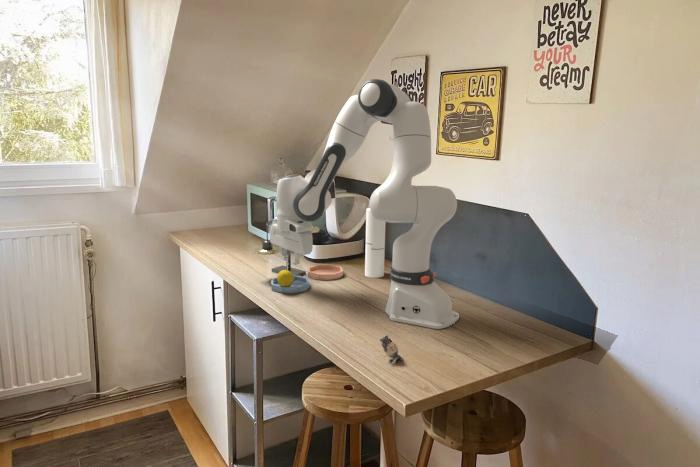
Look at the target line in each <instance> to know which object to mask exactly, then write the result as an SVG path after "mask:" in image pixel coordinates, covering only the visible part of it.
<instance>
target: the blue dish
mask: <svg viewBox="0 0 700 467" xmlns="http://www.w3.org/2000/svg"><path fill="white" fill-rule="evenodd" d="M293 277H294V281H293V284H292V285H291V286H289V287H283V286H281V285H279V283H278V281H277V277H274V278H272V279H270V289H271V290H272V291H274V293H275V292H276V293H280V294H287V295H288V294H300V293H303V292H307V290H309V288H310V280H309V278H308V277H303V276H293Z"/></svg>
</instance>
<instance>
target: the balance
mask: <svg viewBox="0 0 700 467" xmlns="http://www.w3.org/2000/svg"><path fill="white" fill-rule="evenodd" d="M274 219H277V217H275V218H273V219H271V220H268V221H266V222H265V225H266V239H263V240H262V244H261V245H262V246H257V247H255V248H254V253H256V254H257V255H276V254H279V253H280V250H279V247H278V246H275V245H272V244H271V242H270V239H269V228H268V227H269V225H272V221H273V220H274ZM312 226H313V225H312ZM310 232H311V233H312V234H313V233H319V232H320V227H318V226H313V230H312V231H310ZM291 252H292V251H290V250H287V249H286V253H287V255H288V260H286V264H285V265H280V266H275V267H273V268H271V273H275V274H278V273H279V272H280V271H282V270H288V271H290V272H291V273H292V274H293V276H301V277H303V276H304V275H307V271H306V270H302V269H299V268H294V267H292V264H291V263H292V262H291V261H292V259H291V258H292V257H291V256H292V253H291Z"/></svg>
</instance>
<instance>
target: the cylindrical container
mask: <svg viewBox="0 0 700 467" xmlns="http://www.w3.org/2000/svg"><path fill="white" fill-rule="evenodd" d="M365 210H366V212H365V215H366V216H365V252H364V253H365V255H364V256H365V258H364V276H365V277H367V278H372V279H373V278H375V279H378V278H379V279H380V278H383V277H384V274H385V255H386V254H385V253H386V252H385V250H386V243H385V242H386V223H387V222H384V221H379V220H376V219H375V218H374V217H373V215H372V213H371V211H370V207H368V208H366V209H365Z"/></svg>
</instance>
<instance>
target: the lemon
mask: <svg viewBox="0 0 700 467" xmlns="http://www.w3.org/2000/svg"><path fill="white" fill-rule="evenodd" d="M276 278H277V281H278V283H279V285H281V286H283V287H289V286H291V285H292V284H293V281H294V277H293V274H292V273H291V272H290V271H288V270H282V271H280V272H279V273H277V276H276Z"/></svg>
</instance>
